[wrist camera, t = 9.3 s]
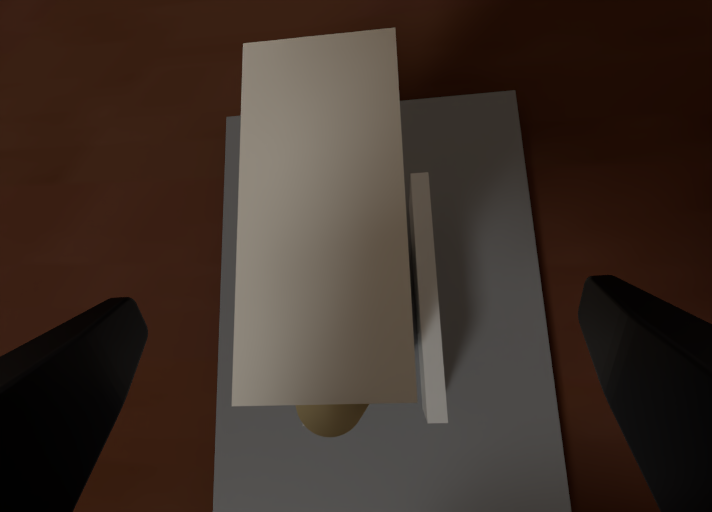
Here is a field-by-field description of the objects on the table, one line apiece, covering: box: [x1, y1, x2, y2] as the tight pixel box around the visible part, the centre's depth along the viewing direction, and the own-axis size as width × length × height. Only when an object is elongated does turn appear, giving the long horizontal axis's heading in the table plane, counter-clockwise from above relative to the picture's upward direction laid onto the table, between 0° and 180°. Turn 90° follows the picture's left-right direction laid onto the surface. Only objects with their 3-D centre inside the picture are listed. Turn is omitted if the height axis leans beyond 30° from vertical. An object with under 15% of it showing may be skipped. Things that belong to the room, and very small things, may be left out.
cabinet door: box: [232, 28, 418, 437], centre depth 11 cm, size 7×2×12 cm, turn 2°
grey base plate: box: [213, 90, 571, 512], centre depth 16 cm, size 18×13×4 cm
